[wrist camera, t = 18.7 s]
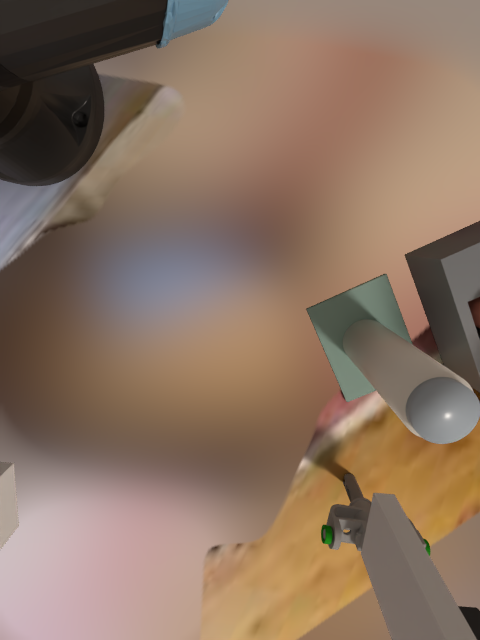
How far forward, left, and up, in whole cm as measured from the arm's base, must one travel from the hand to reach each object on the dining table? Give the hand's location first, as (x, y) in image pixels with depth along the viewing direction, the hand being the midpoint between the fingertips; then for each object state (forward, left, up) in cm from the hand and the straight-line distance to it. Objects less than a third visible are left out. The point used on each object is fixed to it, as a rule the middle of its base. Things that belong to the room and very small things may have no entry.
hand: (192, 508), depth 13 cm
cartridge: (+8, +13, -26) cm, 30 cm away
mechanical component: (+24, +5, -27) cm, 36 cm away
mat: (+8, +13, -27) cm, 31 cm away
